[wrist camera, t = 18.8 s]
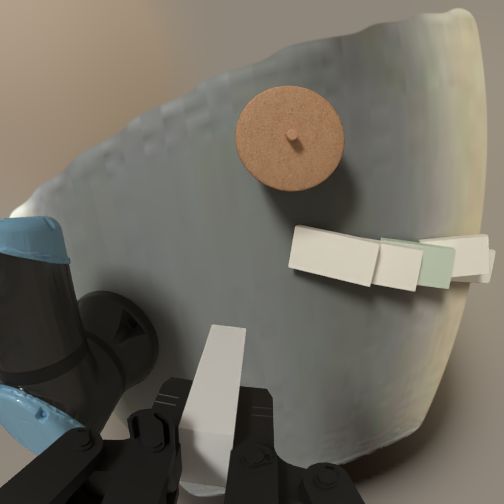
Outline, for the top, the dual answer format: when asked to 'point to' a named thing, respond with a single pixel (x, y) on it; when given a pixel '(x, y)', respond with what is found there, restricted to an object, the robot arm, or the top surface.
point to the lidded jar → (290, 138)
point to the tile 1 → (333, 254)
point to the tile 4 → (466, 253)
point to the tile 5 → (481, 277)
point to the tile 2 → (397, 265)
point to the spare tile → (432, 263)
